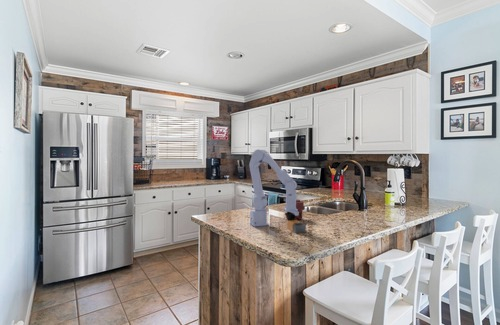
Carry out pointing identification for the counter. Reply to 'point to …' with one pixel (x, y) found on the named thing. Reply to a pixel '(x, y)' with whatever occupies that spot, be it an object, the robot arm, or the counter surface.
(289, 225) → the notched orange block
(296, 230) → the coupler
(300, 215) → the mechanical component
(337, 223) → the counter surface
